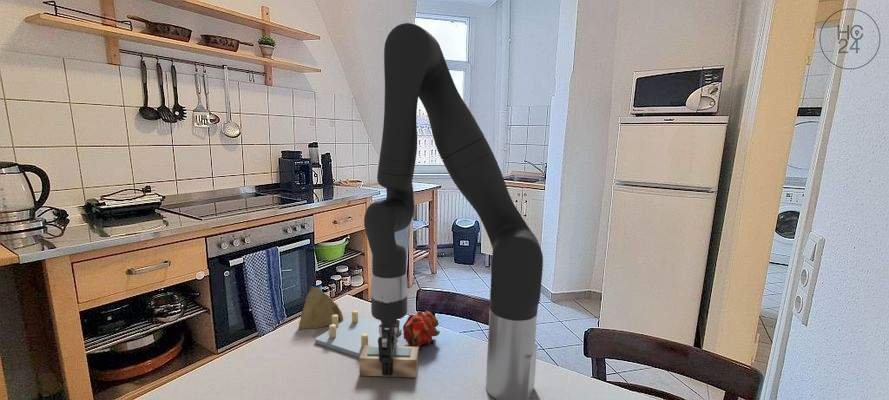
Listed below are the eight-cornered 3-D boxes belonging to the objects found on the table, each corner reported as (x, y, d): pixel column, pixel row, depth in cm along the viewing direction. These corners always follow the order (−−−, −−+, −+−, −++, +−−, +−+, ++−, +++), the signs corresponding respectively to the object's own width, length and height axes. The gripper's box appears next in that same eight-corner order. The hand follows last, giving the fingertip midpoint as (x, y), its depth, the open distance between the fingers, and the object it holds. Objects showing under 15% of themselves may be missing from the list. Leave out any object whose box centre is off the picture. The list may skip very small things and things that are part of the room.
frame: (418, 363, 85) (418, 345, 85) (416, 377, 81) (416, 358, 80) (364, 361, 86) (364, 343, 85) (359, 375, 81) (359, 356, 80)
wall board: (403, 333, 99) (403, 318, 98) (371, 361, 86) (371, 344, 85) (350, 318, 106) (350, 304, 105) (313, 342, 93) (312, 327, 93)
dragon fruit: (432, 336, 100) (415, 368, 89) (407, 316, 101) (387, 345, 90) (450, 317, 97) (434, 348, 86) (424, 296, 97) (405, 324, 86)
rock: (352, 308, 107) (320, 298, 109) (345, 293, 101) (312, 283, 103) (333, 344, 100) (300, 334, 102) (324, 331, 94) (289, 319, 96)
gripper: (377, 279, 87) (378, 348, 90) (364, 307, 73) (365, 387, 76) (410, 280, 87) (410, 348, 90) (403, 308, 73) (403, 388, 76)
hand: (389, 366), depth 83 cm, fingers closed on frame, 5 cm apart
